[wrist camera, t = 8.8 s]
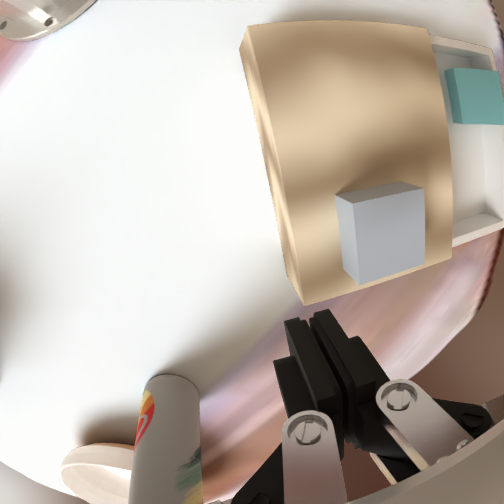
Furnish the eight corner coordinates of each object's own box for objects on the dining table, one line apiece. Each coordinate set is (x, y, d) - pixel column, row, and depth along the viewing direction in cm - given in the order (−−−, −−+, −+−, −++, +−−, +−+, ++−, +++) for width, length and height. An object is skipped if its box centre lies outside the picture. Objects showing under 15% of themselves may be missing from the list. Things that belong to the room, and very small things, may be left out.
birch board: (239, 49, 18) (247, 25, 14) (391, 41, 19) (426, 28, 14) (287, 275, 25) (304, 306, 20) (417, 238, 26) (451, 257, 21)
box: (396, 42, 19) (419, 33, 16) (468, 52, 19) (491, 48, 16) (421, 237, 26) (444, 250, 22) (484, 217, 26) (506, 226, 23)
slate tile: (334, 194, 18) (352, 203, 15) (401, 181, 18) (423, 188, 16) (343, 268, 20) (359, 285, 17) (404, 250, 20) (424, 263, 18)
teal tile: (498, 71, 16) (487, 73, 18) (453, 67, 17) (444, 71, 19) (506, 125, 18) (495, 123, 20) (462, 124, 19) (453, 123, 21)
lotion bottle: (137, 398, 28) (117, 574, 9) (154, 365, 26) (134, 572, 8) (186, 415, 29) (192, 585, 11) (208, 384, 28) (225, 581, 10)
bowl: (187, 426, 30) (187, 469, 25) (208, 490, 37) (210, 520, 32) (45, 416, 28) (32, 451, 22) (97, 483, 35) (93, 511, 29)
